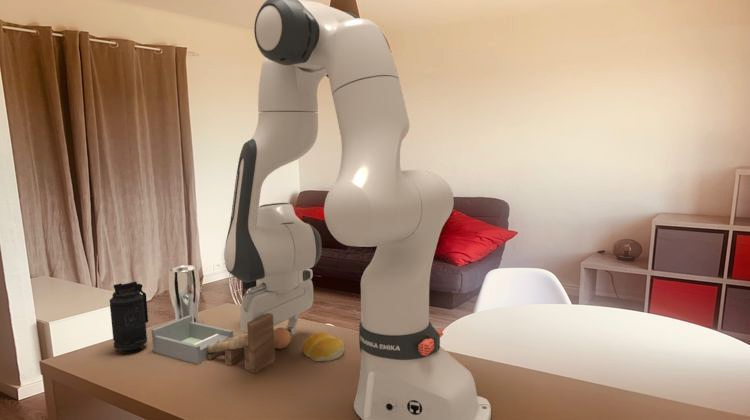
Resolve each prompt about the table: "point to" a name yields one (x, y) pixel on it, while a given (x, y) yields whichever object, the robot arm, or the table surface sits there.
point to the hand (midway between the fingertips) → (280, 340)
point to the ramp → (248, 346)
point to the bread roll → (323, 347)
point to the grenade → (129, 317)
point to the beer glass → (185, 291)
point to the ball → (281, 338)
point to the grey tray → (186, 339)
